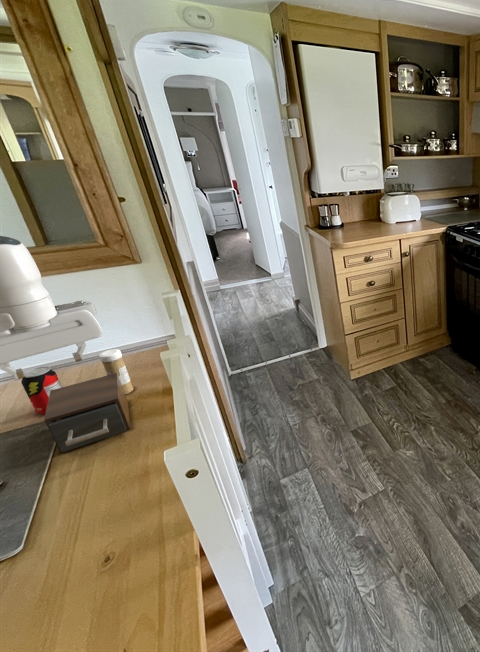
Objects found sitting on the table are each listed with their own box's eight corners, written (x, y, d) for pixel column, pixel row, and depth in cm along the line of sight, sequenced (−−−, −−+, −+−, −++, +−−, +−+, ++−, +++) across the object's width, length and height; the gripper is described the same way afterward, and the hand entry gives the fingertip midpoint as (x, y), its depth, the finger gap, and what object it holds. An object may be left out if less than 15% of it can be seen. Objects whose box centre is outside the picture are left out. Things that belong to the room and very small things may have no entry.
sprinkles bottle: (109, 396, 110) (93, 356, 105) (122, 387, 114) (107, 348, 109) (126, 396, 110) (110, 356, 105) (138, 387, 114) (124, 348, 109)
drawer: (127, 443, 92) (116, 416, 89) (59, 467, 84) (45, 439, 81) (124, 405, 105) (115, 381, 102) (65, 423, 97) (54, 397, 95)
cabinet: (130, 429, 97) (118, 398, 94) (60, 453, 89) (43, 419, 86) (127, 402, 107) (116, 372, 104) (64, 421, 99) (50, 390, 96)
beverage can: (59, 399, 108) (43, 363, 103) (75, 404, 106) (59, 367, 102) (30, 413, 102) (12, 375, 97) (46, 418, 100) (28, 380, 96)
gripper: (87, 295, 89) (108, 346, 94) (-54, 324, 73) (-20, 384, 79) (94, 301, 85) (115, 354, 90) (-52, 333, 70) (-17, 395, 75)
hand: (51, 368), depth 84 cm, fingers open, 8 cm apart
